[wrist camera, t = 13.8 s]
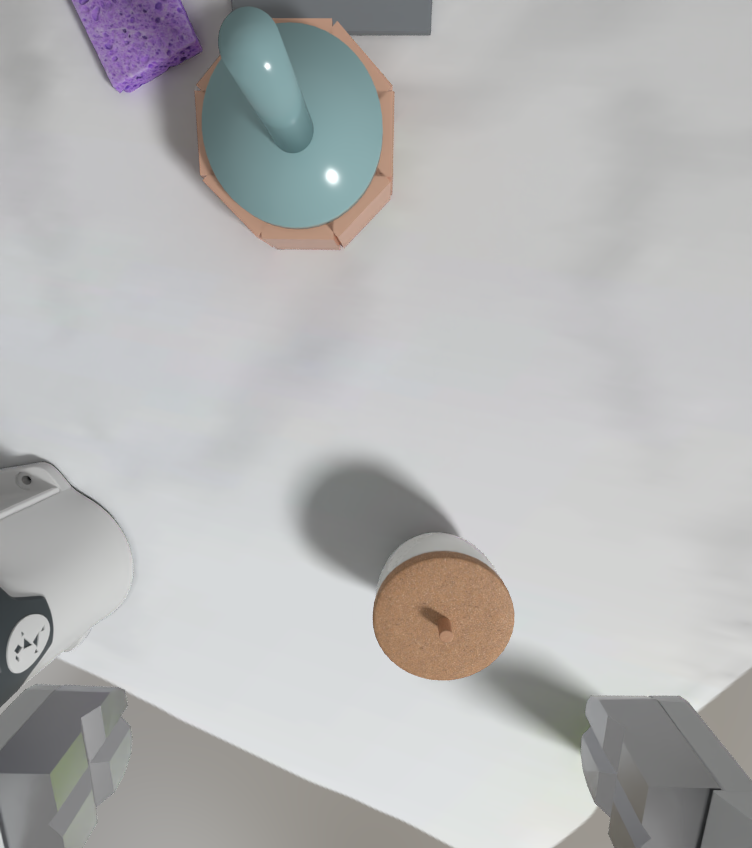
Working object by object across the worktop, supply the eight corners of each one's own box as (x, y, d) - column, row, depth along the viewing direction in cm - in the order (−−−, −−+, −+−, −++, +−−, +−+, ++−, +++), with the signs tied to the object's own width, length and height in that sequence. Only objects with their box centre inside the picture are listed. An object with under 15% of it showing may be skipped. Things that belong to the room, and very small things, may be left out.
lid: (213, 228, 31) (134, 185, 21) (201, 32, 28) (104, -119, 19) (381, 230, 31) (378, 188, 21) (384, 32, 28) (383, -120, 18)
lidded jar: (351, 564, 41) (341, 632, 32) (437, 489, 40) (453, 540, 31) (429, 638, 43) (440, 723, 34) (515, 570, 41) (552, 640, 32)
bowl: (227, 248, 36) (204, 238, 31) (216, 59, 33) (189, 18, 28) (390, 250, 35) (391, 240, 31) (394, 59, 32) (396, 18, 28)
